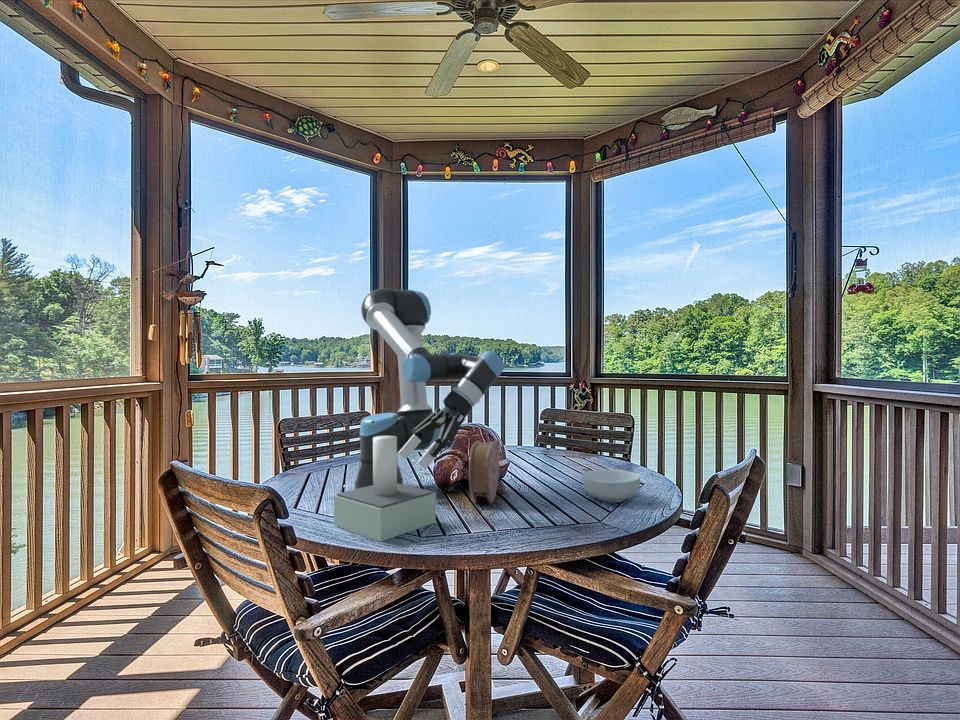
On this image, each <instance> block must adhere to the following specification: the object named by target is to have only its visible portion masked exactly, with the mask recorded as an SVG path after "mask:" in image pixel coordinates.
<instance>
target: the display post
mask: <svg viewBox="0 0 960 720" xmlns="http://www.w3.org/2000/svg"><path fill="white" fill-rule="evenodd" d="M397 459H398V456H397V437H396V436H376V437H373V494H374V495H379V496H388V495H393V494H396V493H397Z"/></svg>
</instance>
